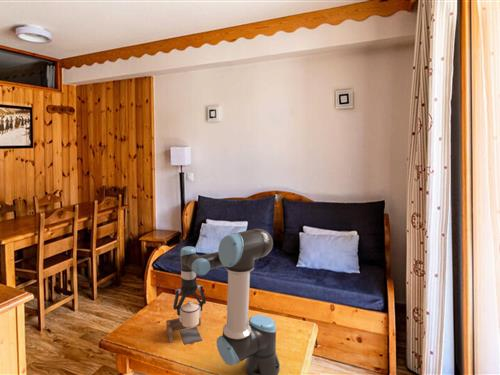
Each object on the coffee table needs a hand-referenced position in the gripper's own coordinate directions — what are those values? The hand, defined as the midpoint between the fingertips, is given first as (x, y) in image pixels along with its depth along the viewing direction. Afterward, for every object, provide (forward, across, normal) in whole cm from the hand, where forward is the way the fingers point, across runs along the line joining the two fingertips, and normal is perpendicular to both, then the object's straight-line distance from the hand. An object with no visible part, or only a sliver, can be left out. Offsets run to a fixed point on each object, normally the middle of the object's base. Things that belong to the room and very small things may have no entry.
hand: (190, 318), depth 167 cm
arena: (+9, +2, -1) cm, 10 cm away
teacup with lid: (+2, +1, 0) cm, 2 cm away
